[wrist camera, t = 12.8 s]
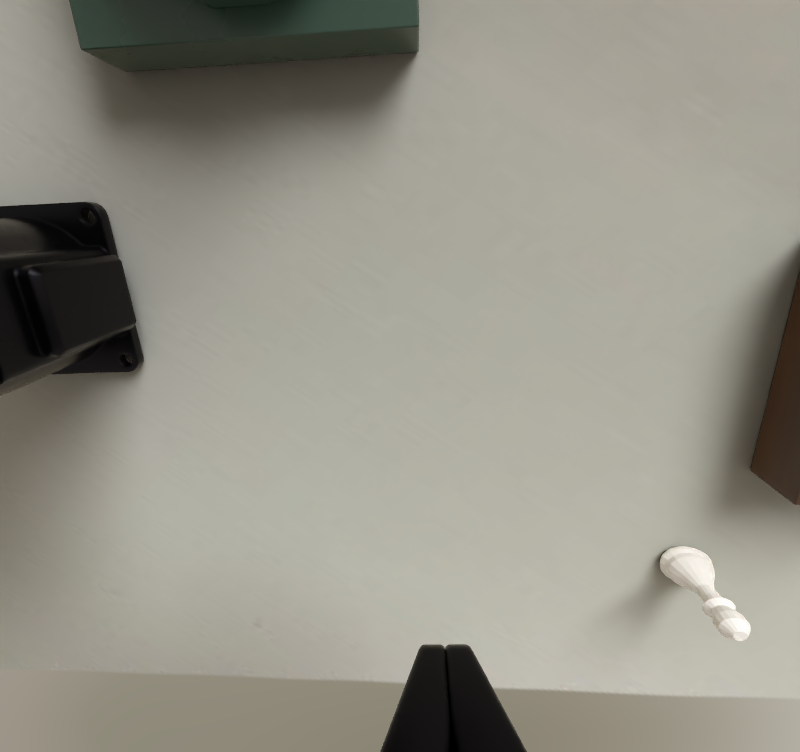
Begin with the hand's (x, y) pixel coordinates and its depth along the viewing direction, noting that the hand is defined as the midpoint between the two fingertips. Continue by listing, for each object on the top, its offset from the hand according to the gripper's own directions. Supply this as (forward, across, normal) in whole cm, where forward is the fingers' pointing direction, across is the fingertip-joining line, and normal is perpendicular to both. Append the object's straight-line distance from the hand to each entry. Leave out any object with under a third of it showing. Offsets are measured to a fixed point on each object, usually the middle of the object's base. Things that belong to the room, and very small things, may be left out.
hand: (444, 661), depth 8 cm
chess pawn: (+12, -12, +9) cm, 19 cm away
